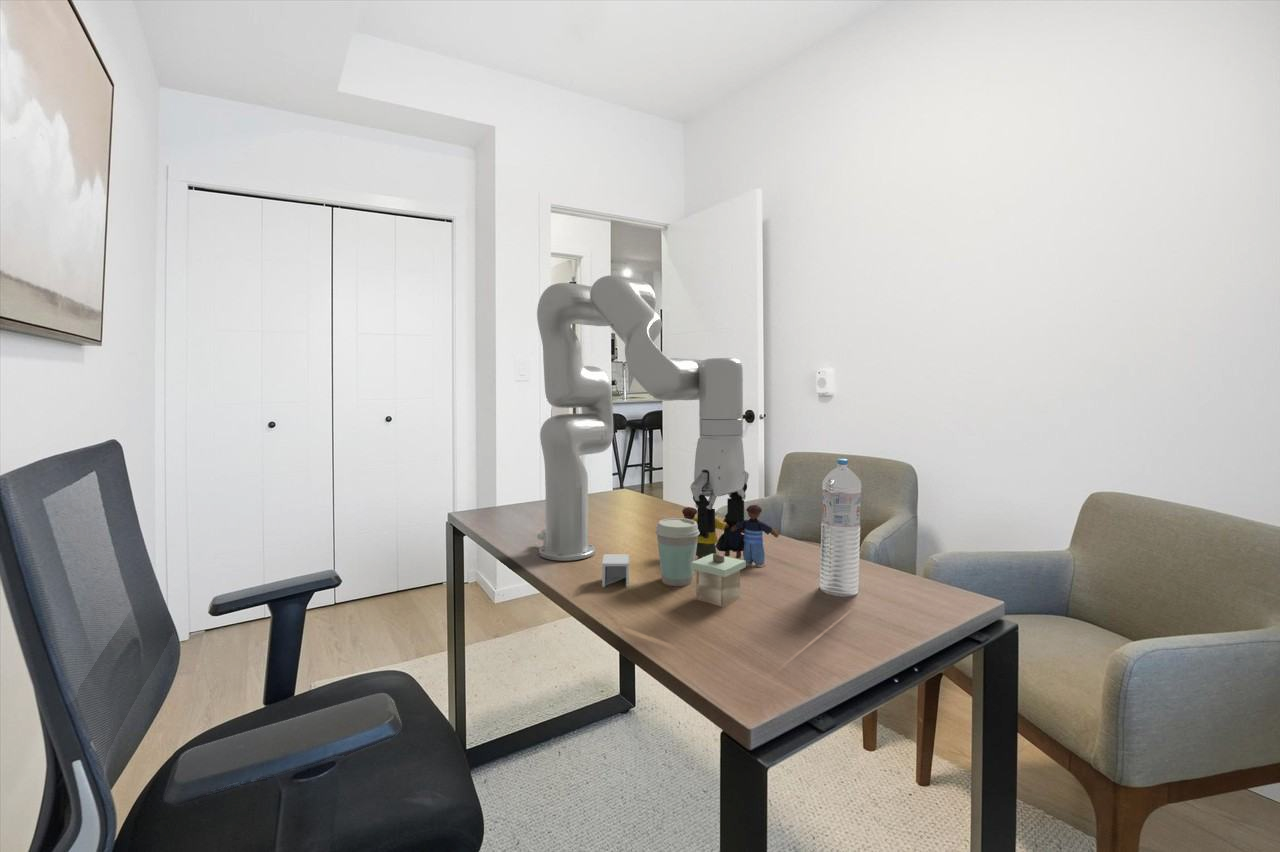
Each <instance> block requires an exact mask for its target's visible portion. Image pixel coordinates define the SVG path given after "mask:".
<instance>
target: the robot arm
mask: <svg viewBox="0 0 1280 852" xmlns="http://www.w3.org/2000/svg"><path fill="white" fill-rule="evenodd" d="M656 304H657V298H656V294H655V292H654V290H653V287H652V286H651V285H649V283H647V282H646V281H644V280H641V279H637V278H632V277H626V276H621V275H612V274H611V275H604V276H601V277H599V278H598V279H597V280H596V281H594V283H593V284H592V286H591V285H585V284H578V283H573V282H558V283H553V284H552V285H549V286H547V287H546V289H545V290H544V291H543V292H542V294H541V296H540V298H539V301H538V303H537V309H536V317H537V325H538V329H539V334H540V339H541V345H542V356H543V358H542V361H543V376H544V377H543V379H544V381H543V382H544V392H545V397H546V401H547V403H548V404H549V405H551V406H552V407H554V408H561V409H575V408H576V409H577V408H581V413H563V414H561V413H560V414H557V415H553V416H551V417H549V418H547V419H546V420H545V421H544V422H543V423H542V425H541V428H540V432H539V439H540V445H541V450H542V455H543V461H544V481H545V482H544V483H545V484H544V486H545V528H544V529H542V530H541V532H539V533H537V535H536V537H537V539H538V540H541V541H543V544H542V545H541V546H540V547H539V549H538V554H539V556H540V557H542V558H544V559H547V560H551V561H559V562H560V561H563V562H566V561H568V562H570V561H578V560H583V559H588V558H590V557H592V556H594V554H595V553H596V547H595V546H594V545H593V544H592V543H589V483H588V482H589V480H588V479H589V478H588V477H589V476H588V472H587V469H586V466H585V465H584V463H583V461H582V459H581V456H586V455H593V454H599V453H603V452H606V451H607V450H608V449H609V448H610V447H611V445H612V443H613V438H614V411H613V409H614V408H613V391H612V390H613V389H612V385H611V380H610V379H609V376H608V375H607V373H606V372H605V371H604V370H603V369H601V368H600V367H597V366H591V365H583V359H582V345H581V342H580V340H579V337H578V335H577V334H576V332H575V331H574V329H573V328H572V327H571V326H572V325H574V324H575V325H582V326H583V325H584V326H594V327H610V328H611V329H612V331H614V332H615V334H616V335H617V337H618V338H620V340H621V341H622V342H623V343H624V355H625V356H624V358H625V362H626V366H627V368H628V370H629V372H630V374H631V375H632V376H633V378H634V379H635V380H636V381H637V382H638V383H639V385H640V386H641V387H642V388H643V389H644V390H645V391H646V392H647V393H648V394H649V395H650V396H652V397H653V398H655V399H656V400H659V401H665V402H667V401H668V402H669V401H699V405H698V407H699V408H698V410H699V420H698V421H699V423H698V424H699V425H698V426H699V437H698V439H697V443H696V449H695V455H694V456H695V459H694V471H693V472H694V473H693V474H694V475H693V482H692V483H691V484H690V491H691V494H692V499H693V502H694V503H695V504H694V505H695V509H696V510H697V518H698V530H699V531H704V532H710V533H713V532H715V531H716V529H715V519H716V509H715V508H714V505H715V502H716V500H717V498H718V497H721V496H726V495H728V497H729V498H727V499H726V500H727V501H726V502H727V503H726V504H727V506H726V507H727V508H726V509H727V513H726V514H728V520H729V521H736V522H743V521H744V520H745V500H746V497H747V495H746V491H747V488H748V481H749V477H750V476H749V475H750V474H749V472H747V471H746V470H745V453H744V443H743V438H744V436H743V435H744V427H743V426H744V423H743V422H744V419H743V417H744V416H743V415H744V412H743V411H744V410H743V409H744V407H743V406H744V403H743V401H744V400H743V399H744V398H743V397H744V392H743V391H744V389H743V385H744V384H743V382H744V381H743V380H744V378H743V375H744V374H743V371H744V370H743V365H742V362H741V361H740V360H739V359H737V358H733V357H713V358H706V359H693V358H679V357H678V358H677V357H676V358H675V357H674V358H673V357H668V356H666V355H665V354H664V353H663V352H662V351H661V349H659V347H658V346H657V345H656V344H655V343H654V342H655V340H656V339H657V338H658V336H659V335H660V333H661V331H662V325H663V323H662V319H661V317H660V315H658V313H657V312H656V311H655V310H656ZM707 497H708V498H707Z"/></svg>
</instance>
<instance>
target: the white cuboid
mask: <svg viewBox="0 0 1280 852" xmlns="http://www.w3.org/2000/svg"><path fill="white" fill-rule="evenodd" d="M601 578H602V579H601V587H602V588H604V587H606V586H608V585H611V584H614V583H617V582H618V581H621V580H623V579H625V587H626V588H628V587H630V553H629V554H628V553H627V554H626V553H621V554H619V553H607V554H606V553H604V554H603V557H602V561H601Z"/></svg>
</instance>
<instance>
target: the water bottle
mask: <svg viewBox="0 0 1280 852" xmlns="http://www.w3.org/2000/svg"><path fill="white" fill-rule="evenodd" d="M848 463H849V459H847V458H837V459H836V465H837V467H835V468H833V469H832V470H831V471H830V472H828V473H827V475H826V476H825V477H824V478H823V480H822V486H821V488H822V509H821V510H822V511H821V515H822V516H821V525H820V526H821V528H820V530H821V531H820V532H821V533H820V557H819V558H820V563H819V564H820V566H819V570H820V571H819V574H820V575H819V587H820V591H821V592H823V593H824V594H827V595H830V596H834V597H847V598H849V597H854V596H856V595H857V594H858V592H859V577H860V575H859V574H860V569H859V568H860V553H861V552H860V548H861V547H860V546H861V544H860V543H861V524H860V523H861V496H862V495H861V492H862V482H861V479H860V478H859V477H858V475H856V473H855V472H854V471H853V470H851V469H850V468H848Z"/></svg>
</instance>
